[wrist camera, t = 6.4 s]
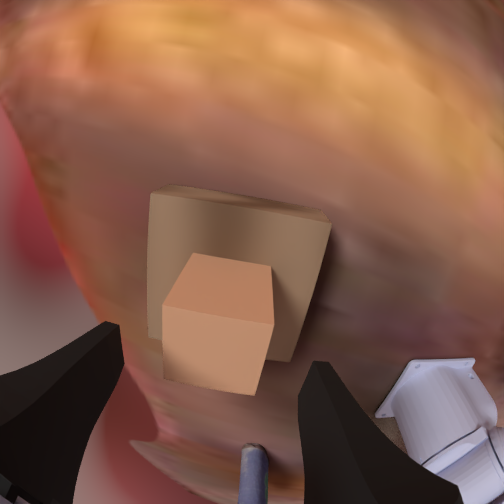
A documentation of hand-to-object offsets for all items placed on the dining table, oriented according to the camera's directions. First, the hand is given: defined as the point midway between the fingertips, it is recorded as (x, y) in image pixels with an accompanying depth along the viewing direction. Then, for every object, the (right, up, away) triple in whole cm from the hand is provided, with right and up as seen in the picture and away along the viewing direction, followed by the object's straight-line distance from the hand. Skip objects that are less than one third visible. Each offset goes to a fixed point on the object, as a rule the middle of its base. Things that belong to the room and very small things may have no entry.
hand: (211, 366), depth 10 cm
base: (0, +3, +8) cm, 9 cm away
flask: (+2, -21, +18) cm, 27 cm away
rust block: (0, +2, +5) cm, 6 cm away
